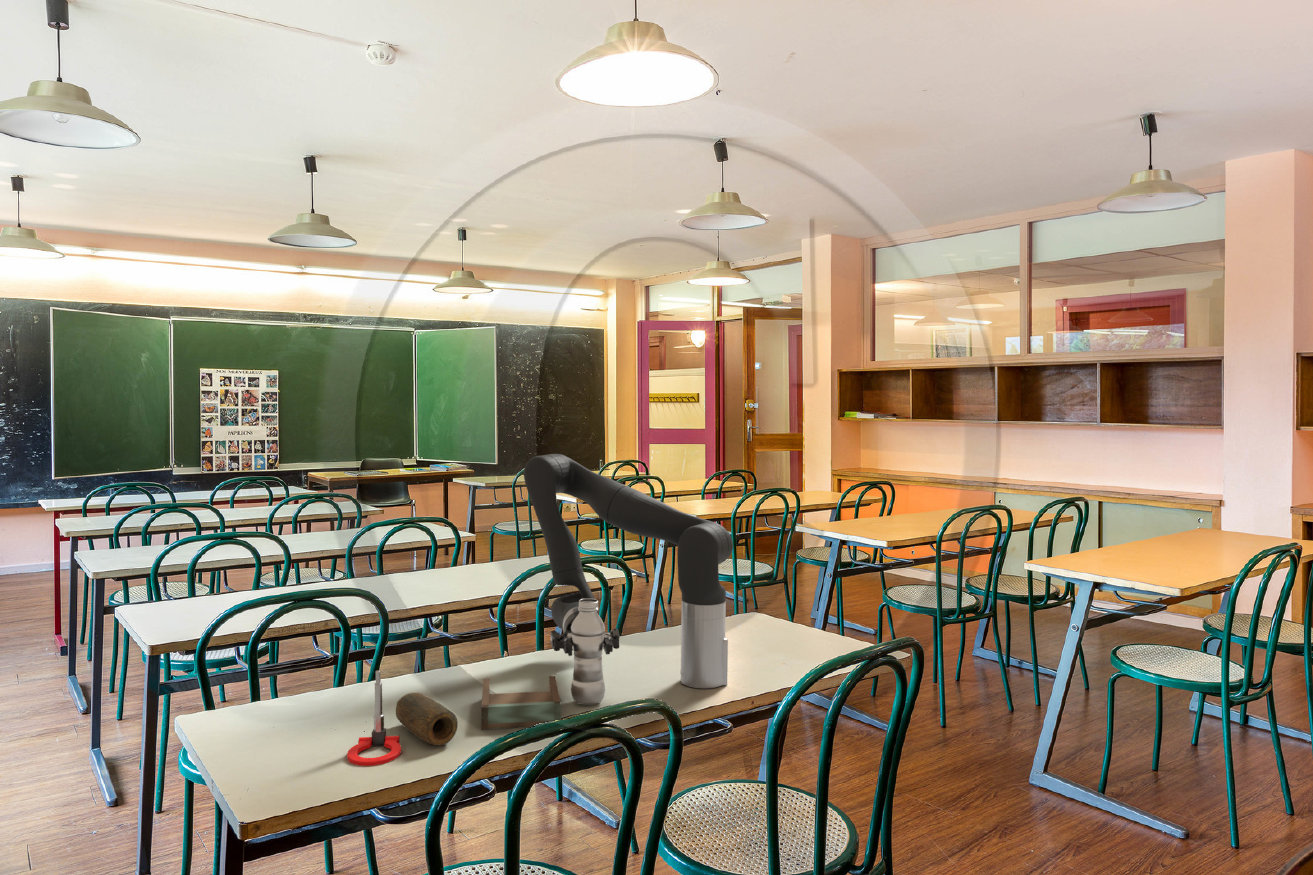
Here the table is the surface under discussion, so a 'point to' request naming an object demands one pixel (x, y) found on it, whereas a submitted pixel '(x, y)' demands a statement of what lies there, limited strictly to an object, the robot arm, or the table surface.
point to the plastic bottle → (588, 654)
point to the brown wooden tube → (426, 718)
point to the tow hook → (376, 736)
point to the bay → (519, 707)
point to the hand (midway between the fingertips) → (589, 650)
